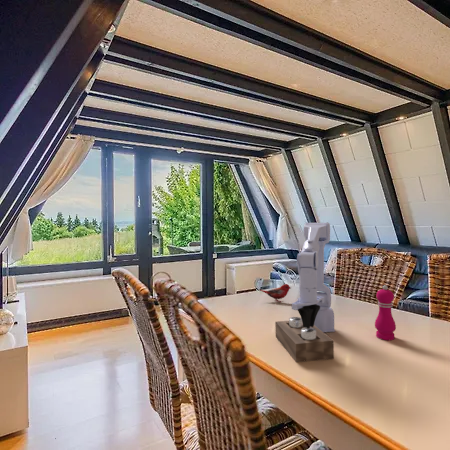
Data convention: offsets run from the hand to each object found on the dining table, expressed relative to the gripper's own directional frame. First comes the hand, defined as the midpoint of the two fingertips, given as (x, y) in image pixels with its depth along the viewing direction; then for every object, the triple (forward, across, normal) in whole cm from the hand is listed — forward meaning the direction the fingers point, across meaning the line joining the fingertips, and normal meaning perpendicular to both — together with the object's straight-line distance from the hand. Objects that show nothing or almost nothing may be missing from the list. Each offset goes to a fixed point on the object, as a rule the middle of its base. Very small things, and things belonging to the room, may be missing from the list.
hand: (308, 326), depth 112 cm
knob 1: (+7, -6, -11) cm, 14 cm away
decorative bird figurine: (+10, -38, -54) cm, 66 cm away
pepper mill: (+10, -34, +9) cm, 36 cm away
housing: (+9, -3, -5) cm, 11 cm away
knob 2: (+7, 0, 0) cm, 7 cm away
